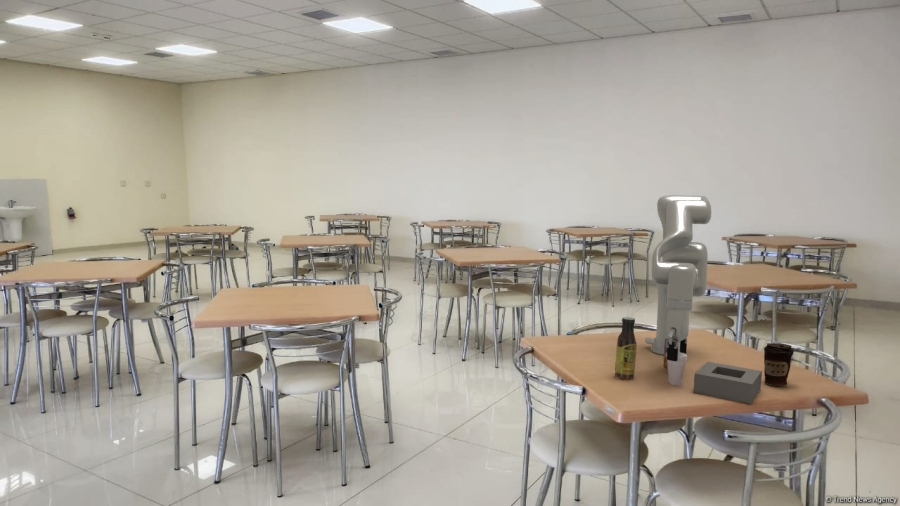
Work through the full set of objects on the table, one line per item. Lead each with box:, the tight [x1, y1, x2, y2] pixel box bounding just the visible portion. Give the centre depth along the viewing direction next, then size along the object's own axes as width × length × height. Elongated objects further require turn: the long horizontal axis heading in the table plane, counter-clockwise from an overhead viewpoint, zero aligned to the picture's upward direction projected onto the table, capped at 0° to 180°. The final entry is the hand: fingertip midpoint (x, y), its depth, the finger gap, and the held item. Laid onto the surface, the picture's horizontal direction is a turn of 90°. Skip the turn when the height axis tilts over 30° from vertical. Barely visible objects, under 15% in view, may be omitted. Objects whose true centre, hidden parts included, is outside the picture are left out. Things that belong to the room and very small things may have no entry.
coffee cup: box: [763, 342, 794, 388], centre depth 191 cm, size 9×8×13 cm
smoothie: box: [666, 342, 688, 386], centre depth 191 cm, size 6×6×14 cm
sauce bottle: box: [614, 316, 638, 380], centre depth 196 cm, size 6×6×20 cm
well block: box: [693, 361, 763, 405], centre depth 185 cm, size 16×16×6 cm
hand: (676, 357), depth 190 cm, fingers open, 9 cm apart
